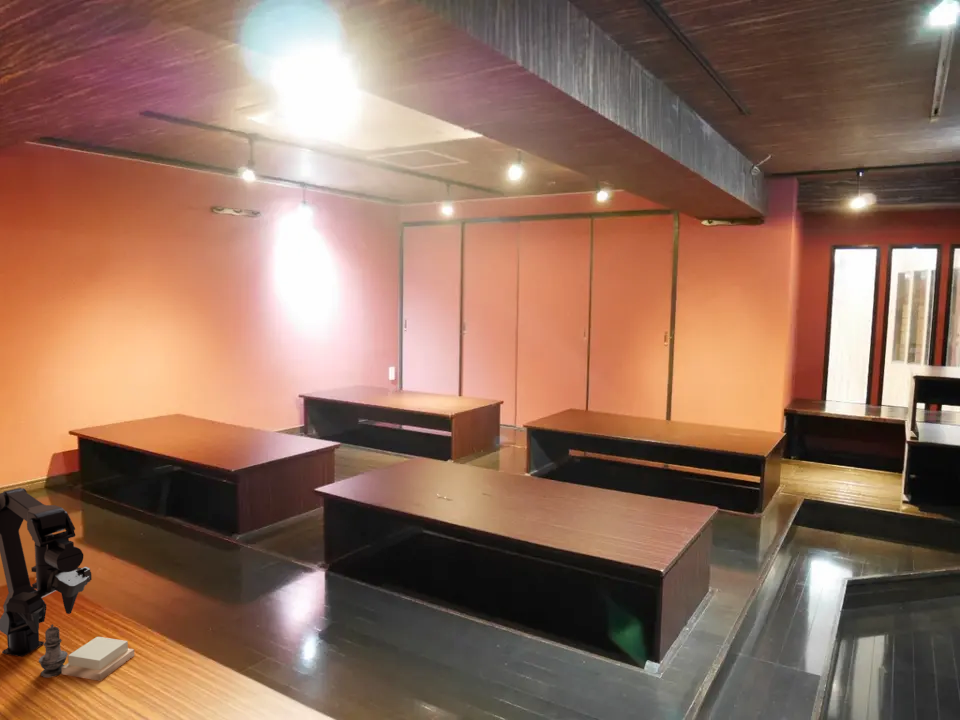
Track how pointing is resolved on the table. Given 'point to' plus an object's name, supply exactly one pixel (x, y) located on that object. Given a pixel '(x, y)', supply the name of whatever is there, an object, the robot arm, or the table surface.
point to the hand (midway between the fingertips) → (52, 622)
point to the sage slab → (98, 653)
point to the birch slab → (97, 674)
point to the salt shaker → (52, 654)
